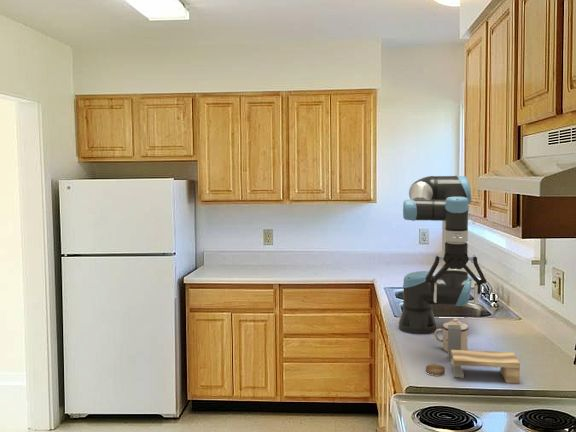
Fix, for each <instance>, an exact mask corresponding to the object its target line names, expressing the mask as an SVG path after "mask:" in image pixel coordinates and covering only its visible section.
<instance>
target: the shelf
mask: <svg viewBox="0 0 576 432" xmlns="http://www.w3.org/2000/svg"><path fill="white" fill-rule="evenodd" d="M451 356H452V359H453V363H454V365H461V366H462V367H463V366H464V367H465V366H466V367H467V366H468V367H486V368H487V367H488V368H499V371H500V373H501V375H502V377H503V379H504V381H505V383H506V384H509V383H511V384H520V377H521V376H520V374H521V373H520V372H521V370H520V368H521V363H520V361H519V359H518V358H517V356H516V354H515V353H514V351H491V350H490V351H489V350H487V351H486V350H471V349H470V350H468V349H467V350H451Z"/></svg>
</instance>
